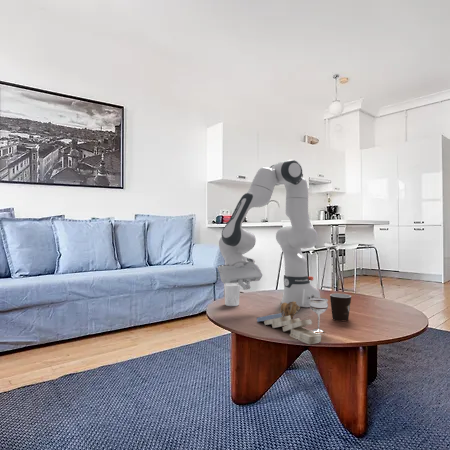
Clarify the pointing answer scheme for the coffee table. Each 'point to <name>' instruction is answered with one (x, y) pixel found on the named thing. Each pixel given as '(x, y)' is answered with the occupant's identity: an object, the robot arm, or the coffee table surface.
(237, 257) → the robot arm
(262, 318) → the domino
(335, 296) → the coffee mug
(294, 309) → the lion figurine
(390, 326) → the coffee table surface
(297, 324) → the domino
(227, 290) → the white cup
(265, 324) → the domino
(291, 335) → the domino
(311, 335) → the domino
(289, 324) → the domino
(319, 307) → the wineglass
